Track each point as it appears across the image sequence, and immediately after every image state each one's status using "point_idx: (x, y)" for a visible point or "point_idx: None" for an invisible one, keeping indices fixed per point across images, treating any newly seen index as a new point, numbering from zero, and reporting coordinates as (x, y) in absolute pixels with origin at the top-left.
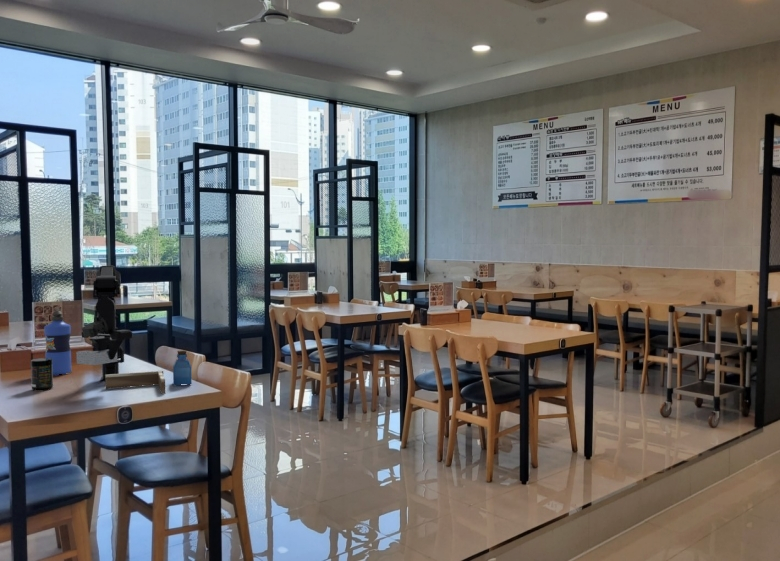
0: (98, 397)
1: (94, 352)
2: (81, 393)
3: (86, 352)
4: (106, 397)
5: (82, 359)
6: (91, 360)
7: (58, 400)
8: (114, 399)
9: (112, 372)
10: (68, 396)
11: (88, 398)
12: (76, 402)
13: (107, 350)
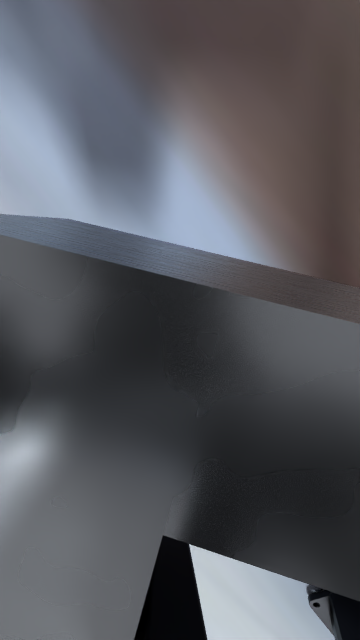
0: (123, 196)
1: (22, 350)
2: (301, 273)
3: (256, 323)
4: (81, 207)
5: (350, 292)
6: (107, 233)
7: (321, 28)
8: (6, 172)
9: (348, 632)
10: (331, 171)
11: (160, 154)
12: (151, 17)
13: (11, 615)
